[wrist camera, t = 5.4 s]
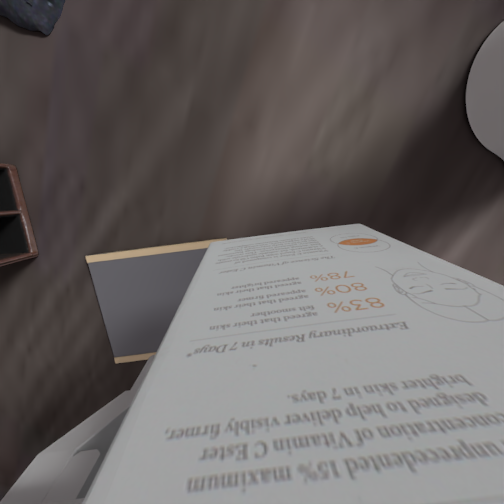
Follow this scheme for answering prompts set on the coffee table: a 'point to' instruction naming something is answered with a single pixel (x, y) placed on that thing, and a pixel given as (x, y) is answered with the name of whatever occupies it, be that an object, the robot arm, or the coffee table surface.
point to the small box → (319, 381)
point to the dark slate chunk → (33, 13)
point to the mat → (143, 293)
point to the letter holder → (14, 220)
